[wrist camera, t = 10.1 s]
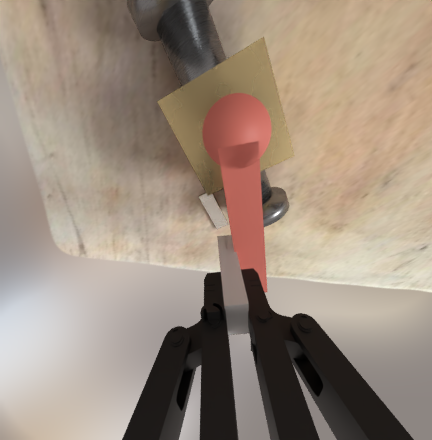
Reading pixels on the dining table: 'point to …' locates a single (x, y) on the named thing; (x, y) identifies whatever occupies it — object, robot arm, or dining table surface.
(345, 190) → the dining table surface
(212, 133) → the lever
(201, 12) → the valve
